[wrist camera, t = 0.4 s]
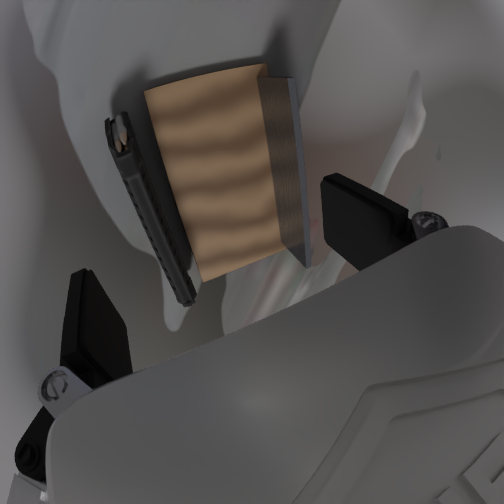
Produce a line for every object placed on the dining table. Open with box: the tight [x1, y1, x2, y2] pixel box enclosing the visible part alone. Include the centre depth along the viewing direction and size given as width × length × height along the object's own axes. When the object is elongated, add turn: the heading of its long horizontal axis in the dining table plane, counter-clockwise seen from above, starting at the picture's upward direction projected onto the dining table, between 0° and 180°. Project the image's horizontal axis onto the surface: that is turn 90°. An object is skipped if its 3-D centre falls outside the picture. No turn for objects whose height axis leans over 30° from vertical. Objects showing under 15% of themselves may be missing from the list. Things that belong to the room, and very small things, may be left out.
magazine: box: [105, 112, 197, 307], centre depth 40 cm, size 17×3×30 cm
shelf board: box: [143, 63, 287, 282], centre depth 46 cm, size 34×18×2 cm, turn 12°
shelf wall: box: [256, 76, 311, 269], centre depth 44 cm, size 30×1×9 cm, turn 12°
